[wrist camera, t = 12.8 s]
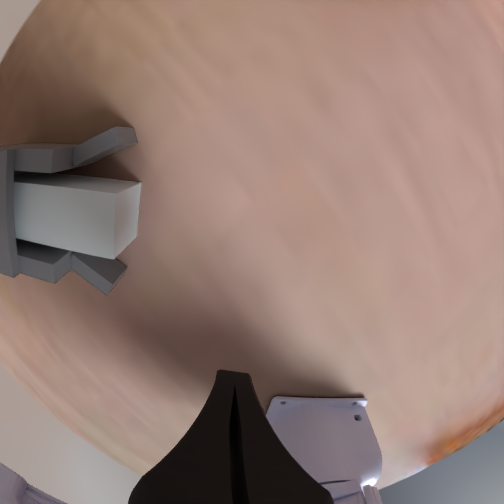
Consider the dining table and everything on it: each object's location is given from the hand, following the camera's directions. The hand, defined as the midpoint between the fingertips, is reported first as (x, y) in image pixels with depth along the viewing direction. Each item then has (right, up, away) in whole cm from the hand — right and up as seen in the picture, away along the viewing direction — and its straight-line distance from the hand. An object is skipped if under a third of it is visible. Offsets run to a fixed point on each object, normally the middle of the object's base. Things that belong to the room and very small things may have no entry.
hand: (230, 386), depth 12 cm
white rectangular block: (-10, +9, +5) cm, 15 cm away
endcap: (-12, +10, +5) cm, 16 cm away
